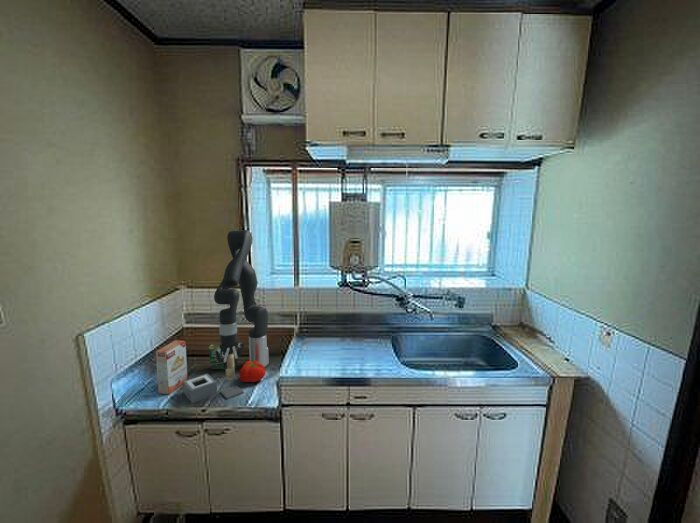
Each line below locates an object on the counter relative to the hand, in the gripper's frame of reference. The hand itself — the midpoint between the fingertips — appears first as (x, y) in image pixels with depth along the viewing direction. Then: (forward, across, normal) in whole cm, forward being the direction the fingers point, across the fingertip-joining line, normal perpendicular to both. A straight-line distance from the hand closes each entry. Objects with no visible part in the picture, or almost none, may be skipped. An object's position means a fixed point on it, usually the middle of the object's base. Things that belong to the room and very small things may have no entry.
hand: (230, 367), depth 153 cm
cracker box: (+13, +18, -24) cm, 32 cm away
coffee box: (+13, -5, -28) cm, 31 cm away
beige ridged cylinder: (+5, 0, 0) cm, 5 cm away
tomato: (+13, -13, -4) cm, 19 cm away
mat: (+13, 0, 0) cm, 13 cm away
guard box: (+13, +11, -9) cm, 19 cm away
